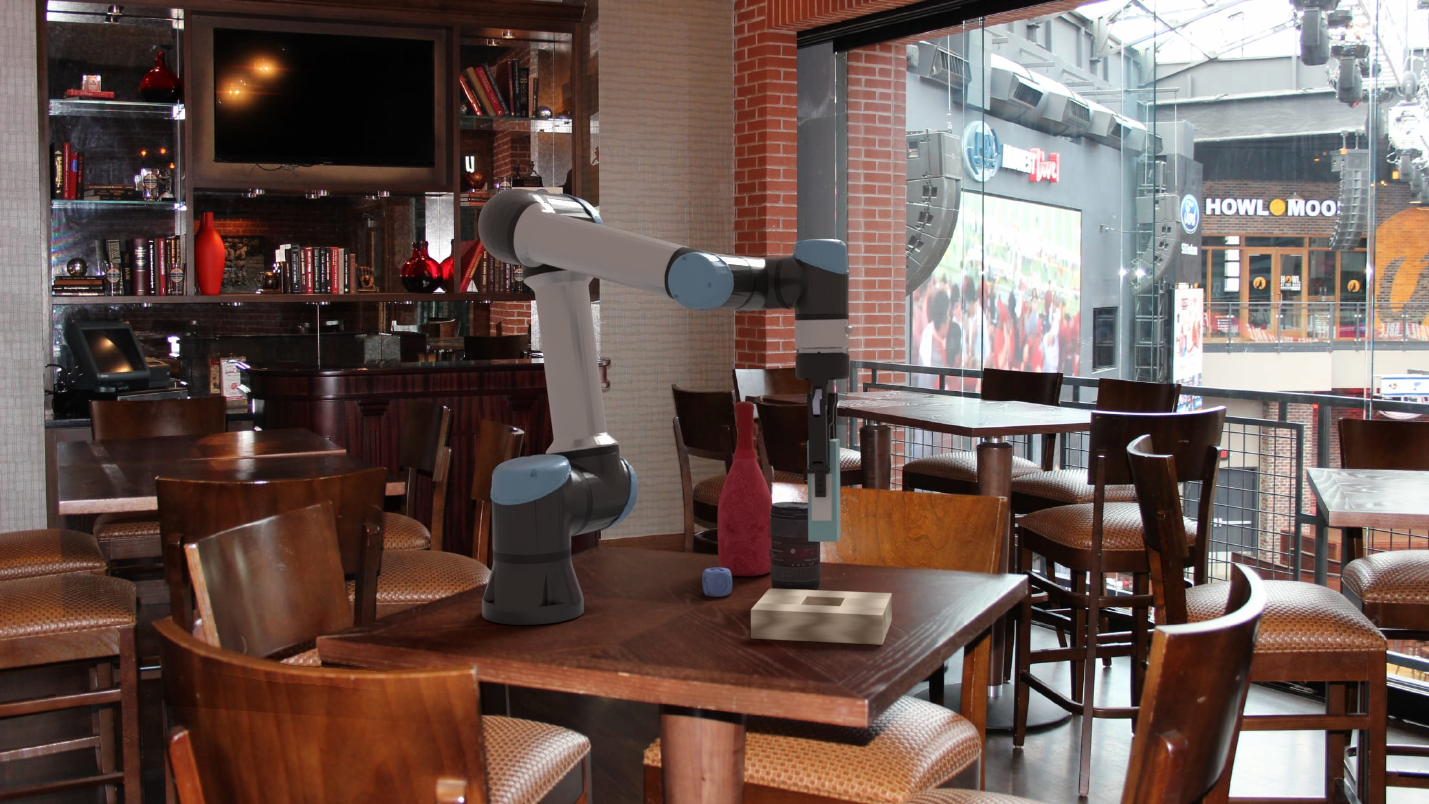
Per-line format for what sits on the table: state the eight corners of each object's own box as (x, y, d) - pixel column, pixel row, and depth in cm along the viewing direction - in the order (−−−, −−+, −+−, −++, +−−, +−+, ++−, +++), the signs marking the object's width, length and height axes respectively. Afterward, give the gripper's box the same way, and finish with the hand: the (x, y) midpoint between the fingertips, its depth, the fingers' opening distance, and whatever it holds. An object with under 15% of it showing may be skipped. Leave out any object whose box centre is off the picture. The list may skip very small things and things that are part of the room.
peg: (808, 541, 171) (807, 441, 170) (812, 536, 175) (811, 438, 174) (836, 541, 170) (835, 441, 169) (840, 537, 174) (839, 438, 173)
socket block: (751, 638, 169) (750, 609, 168) (769, 615, 182) (769, 588, 182) (882, 644, 165) (882, 615, 164) (891, 620, 178) (891, 593, 178)
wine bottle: (719, 567, 220) (717, 399, 218) (773, 567, 219) (772, 399, 218) (716, 578, 210) (715, 403, 208) (774, 578, 210) (773, 402, 208)
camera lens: (818, 605, 189) (818, 508, 188) (766, 603, 190) (766, 507, 189) (824, 593, 197) (824, 501, 196) (774, 592, 198) (774, 500, 197)
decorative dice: (726, 591, 200) (725, 566, 200) (732, 596, 196) (732, 571, 196) (702, 592, 199) (702, 568, 199) (708, 597, 195) (708, 572, 195)
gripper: (841, 351, 162) (843, 527, 163) (856, 349, 179) (857, 509, 180) (785, 352, 164) (787, 526, 165) (805, 350, 180) (807, 508, 182)
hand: (824, 517), depth 172 cm, fingers closed on peg, 4 cm apart
